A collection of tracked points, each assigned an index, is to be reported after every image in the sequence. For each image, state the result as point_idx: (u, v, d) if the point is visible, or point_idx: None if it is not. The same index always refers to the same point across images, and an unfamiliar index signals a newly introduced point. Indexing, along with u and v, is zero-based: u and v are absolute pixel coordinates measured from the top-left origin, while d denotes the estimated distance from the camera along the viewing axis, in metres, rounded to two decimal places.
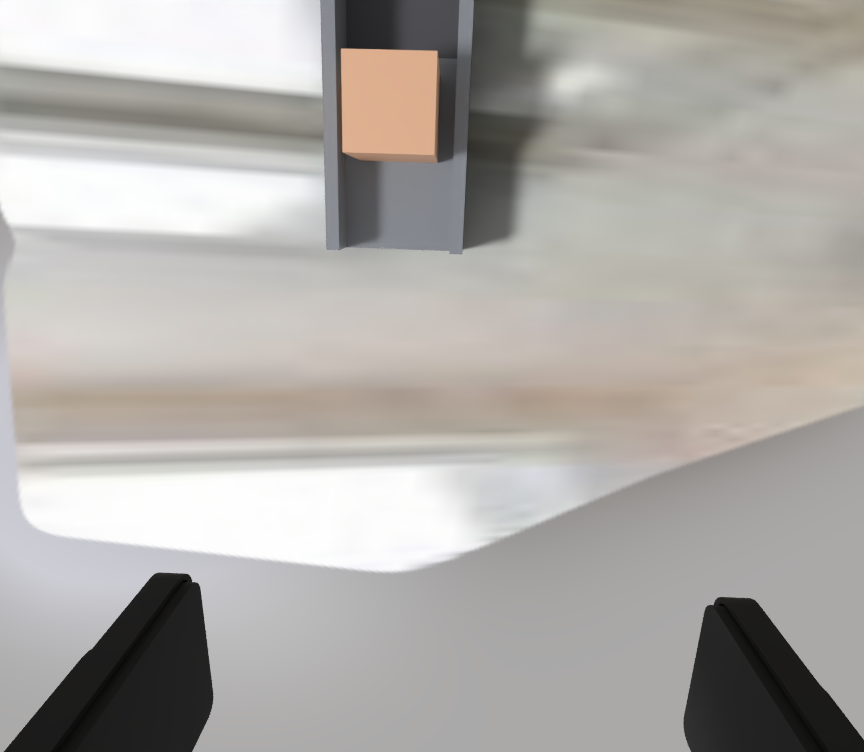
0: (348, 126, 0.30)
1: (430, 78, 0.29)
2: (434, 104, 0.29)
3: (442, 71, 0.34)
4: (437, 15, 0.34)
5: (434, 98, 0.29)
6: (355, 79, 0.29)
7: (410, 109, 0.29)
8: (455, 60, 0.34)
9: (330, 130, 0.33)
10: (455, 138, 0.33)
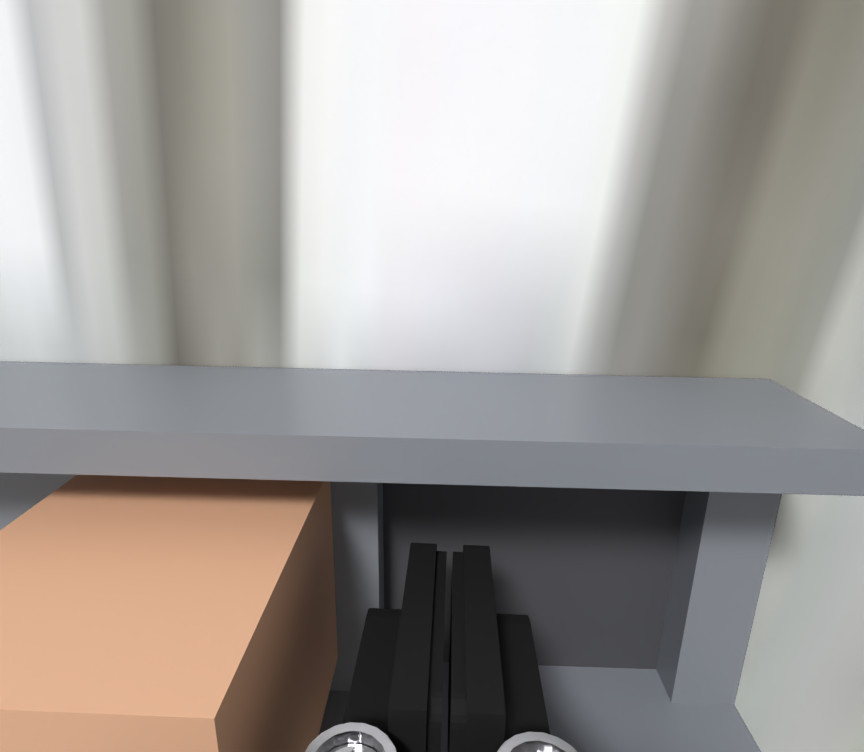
0: None
1: None
2: None
3: (350, 660, 0.13)
4: None
5: None
6: None
7: None
8: None
9: (79, 453, 0.09)
10: None
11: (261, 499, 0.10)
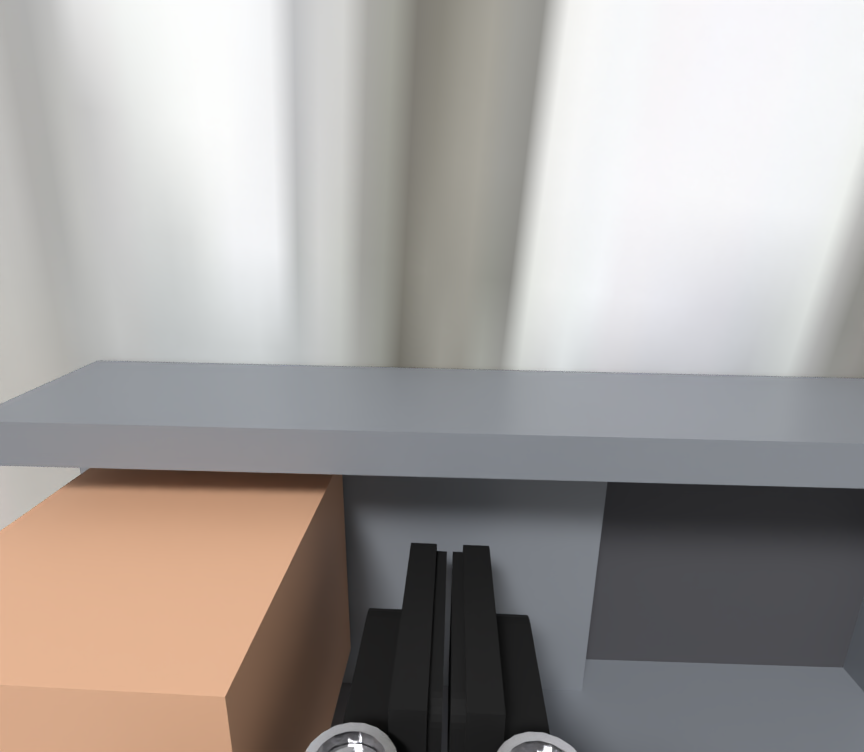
0: None
1: None
2: None
3: (555, 659, 0.13)
4: (679, 619, 0.14)
5: None
6: (110, 738, 0.06)
7: None
8: (578, 685, 0.14)
9: (384, 454, 0.09)
10: None
11: (273, 488, 0.11)
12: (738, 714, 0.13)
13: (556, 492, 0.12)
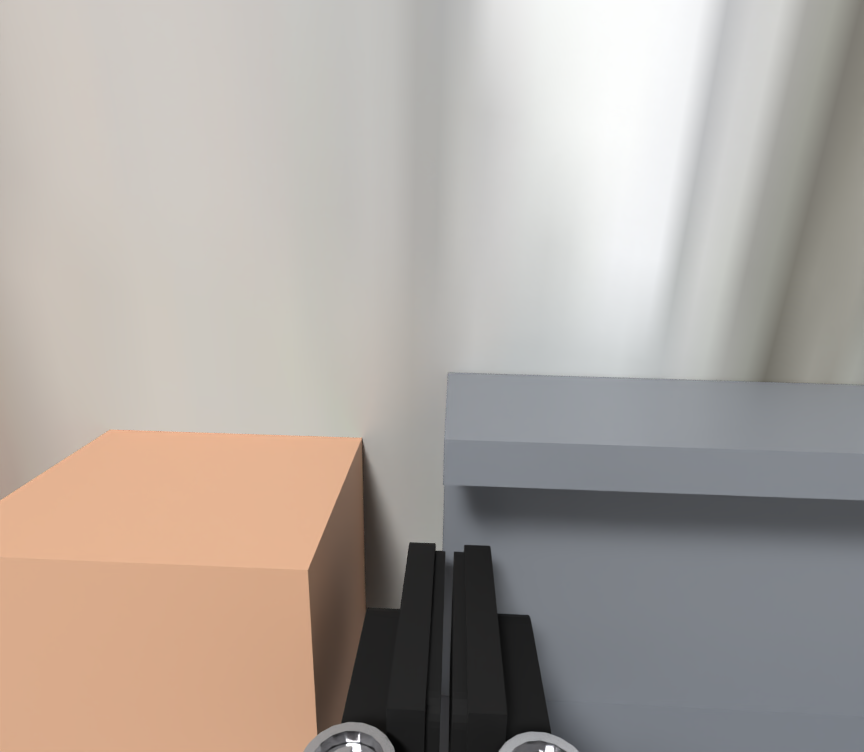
0: None
1: None
2: None
3: None
4: None
5: None
6: None
7: None
8: None
9: None
10: None
11: (239, 528, 0.09)
12: None
13: None
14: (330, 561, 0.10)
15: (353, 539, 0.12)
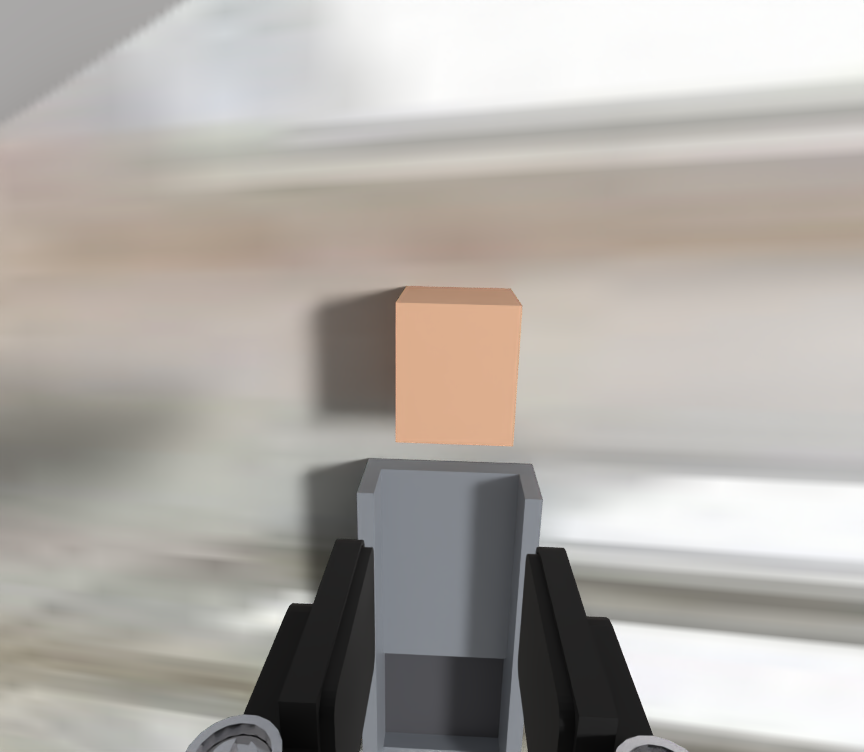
0: (505, 292, 0.25)
1: (406, 297, 0.23)
2: (403, 294, 0.24)
3: (398, 643, 0.31)
4: (407, 676, 0.33)
5: (402, 294, 0.24)
6: (501, 299, 0.23)
7: (432, 293, 0.25)
8: (384, 651, 0.32)
9: None
10: None
11: None
12: (381, 709, 0.32)
13: (478, 642, 0.31)
14: None
15: None
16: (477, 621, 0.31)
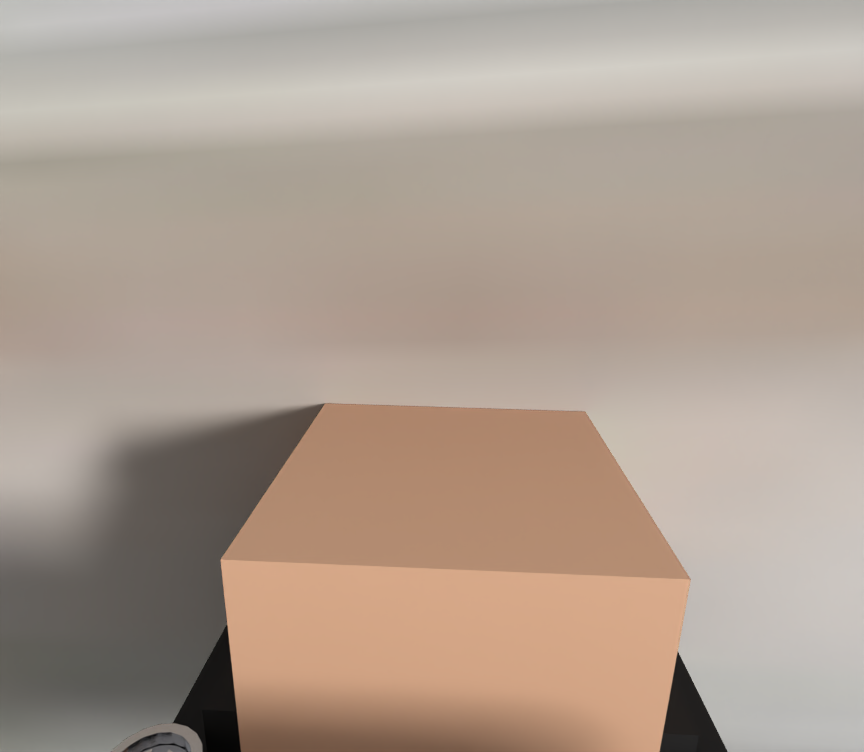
0: (581, 438, 0.09)
1: (285, 500, 0.07)
2: (292, 460, 0.08)
3: None
4: None
5: (287, 468, 0.08)
6: (590, 507, 0.07)
7: (378, 454, 0.09)
8: None
9: None
10: None
11: None
12: None
13: None
14: None
15: None
16: None
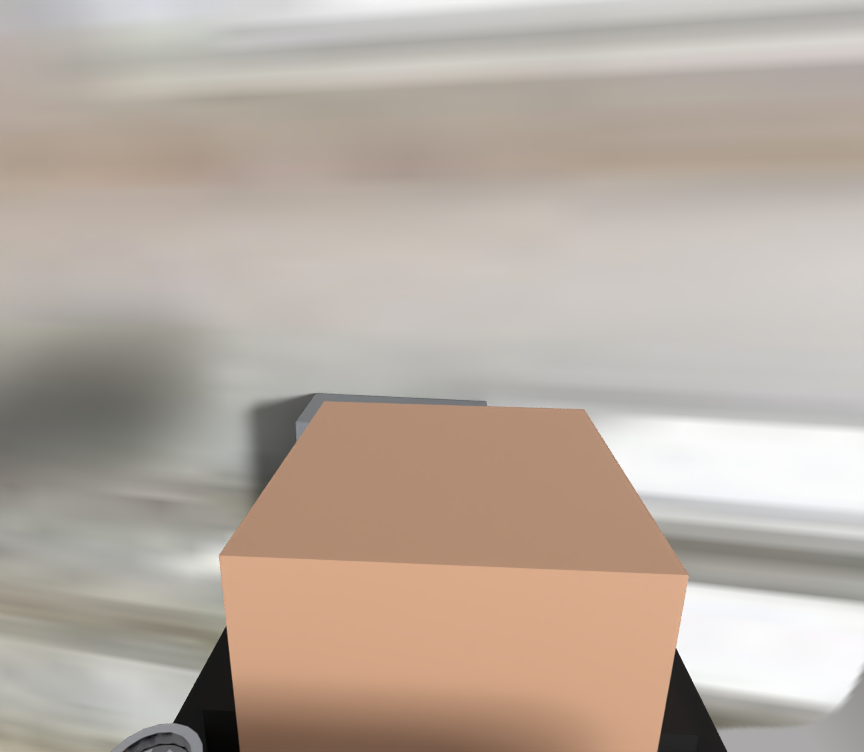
0: (580, 435, 0.09)
1: (283, 497, 0.07)
2: (291, 457, 0.08)
3: None
4: None
5: (286, 465, 0.08)
6: (589, 502, 0.07)
7: (377, 451, 0.09)
8: None
9: None
10: None
11: None
12: None
13: None
14: None
15: None
16: None
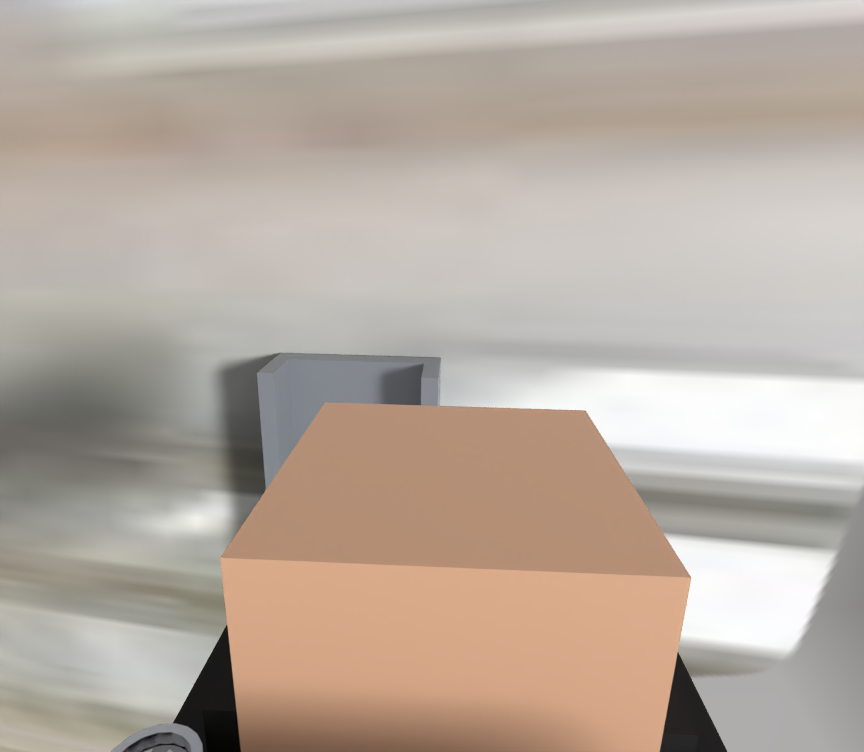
0: (581, 436, 0.09)
1: (284, 498, 0.07)
2: (292, 459, 0.08)
3: None
4: None
5: (287, 466, 0.08)
6: (590, 504, 0.07)
7: (378, 452, 0.09)
8: None
9: None
10: None
11: None
12: None
13: None
14: None
15: None
16: None
